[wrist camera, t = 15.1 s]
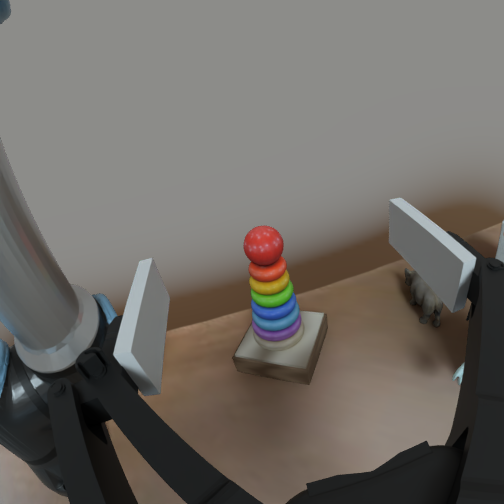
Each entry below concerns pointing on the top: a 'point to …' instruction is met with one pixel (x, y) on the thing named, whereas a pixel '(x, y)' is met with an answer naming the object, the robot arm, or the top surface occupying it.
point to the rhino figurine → (424, 297)
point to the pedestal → (285, 353)
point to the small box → (501, 245)
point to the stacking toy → (271, 292)
